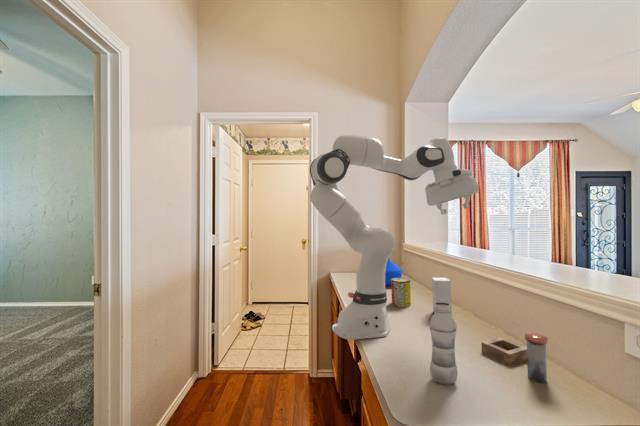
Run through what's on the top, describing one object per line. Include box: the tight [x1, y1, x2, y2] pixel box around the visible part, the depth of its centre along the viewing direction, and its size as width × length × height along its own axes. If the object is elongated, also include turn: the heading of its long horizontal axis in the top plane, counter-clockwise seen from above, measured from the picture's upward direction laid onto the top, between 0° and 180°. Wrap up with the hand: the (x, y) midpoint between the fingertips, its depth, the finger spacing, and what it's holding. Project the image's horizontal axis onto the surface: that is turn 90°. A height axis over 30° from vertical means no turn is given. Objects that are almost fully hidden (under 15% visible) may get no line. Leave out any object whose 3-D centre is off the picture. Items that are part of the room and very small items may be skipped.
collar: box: [481, 336, 527, 366], centre depth 89 cm, size 9×9×3 cm
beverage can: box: [390, 277, 412, 308], centre depth 142 cm, size 9×9×12 cm
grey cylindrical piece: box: [524, 332, 549, 384], centre depth 76 cm, size 5×5×11 cm
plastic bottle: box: [429, 302, 459, 386], centre depth 75 cm, size 6×7×20 cm
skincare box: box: [431, 277, 453, 317], centre depth 126 cm, size 8×7×16 cm
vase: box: [385, 257, 403, 287], centre depth 185 cm, size 18×18×19 cm
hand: (455, 211), depth 113 cm, fingers open, 8 cm apart
